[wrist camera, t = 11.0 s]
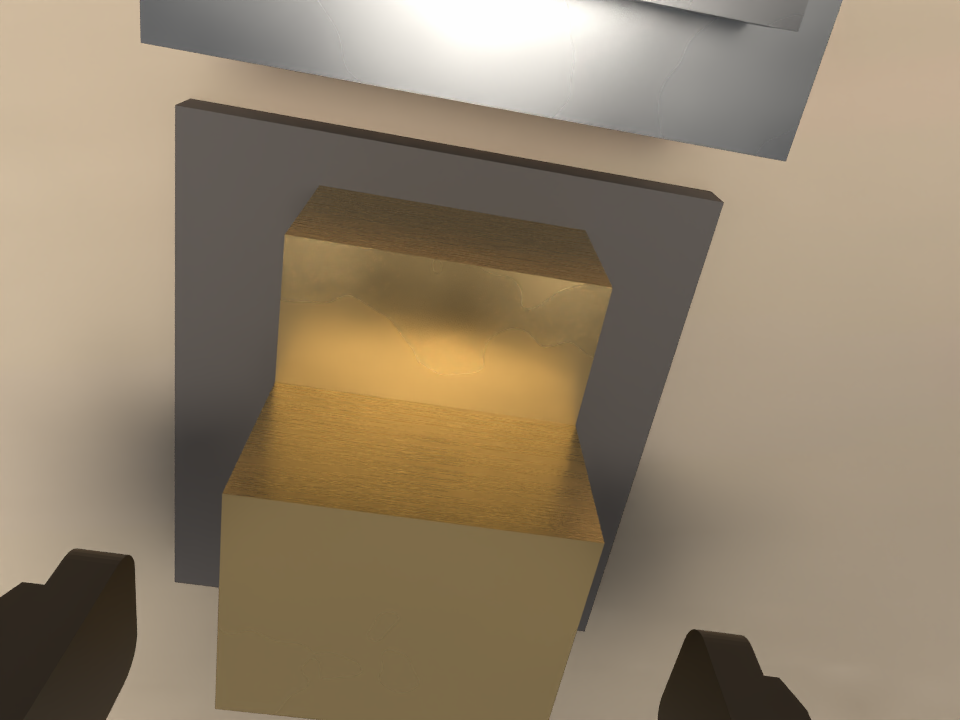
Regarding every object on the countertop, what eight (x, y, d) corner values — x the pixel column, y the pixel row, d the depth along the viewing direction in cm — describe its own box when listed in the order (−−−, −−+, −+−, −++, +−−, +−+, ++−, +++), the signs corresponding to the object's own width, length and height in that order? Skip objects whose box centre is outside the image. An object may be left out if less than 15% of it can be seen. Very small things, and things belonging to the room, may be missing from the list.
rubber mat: (710, 191, 15) (723, 202, 14) (580, 607, 20) (584, 631, 19) (190, 98, 14) (175, 105, 13) (185, 559, 19) (174, 582, 18)
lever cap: (585, 230, 14) (656, 379, 9) (497, 587, 18) (510, 840, 13) (319, 185, 14) (227, 314, 9) (288, 562, 18) (211, 812, 13)
